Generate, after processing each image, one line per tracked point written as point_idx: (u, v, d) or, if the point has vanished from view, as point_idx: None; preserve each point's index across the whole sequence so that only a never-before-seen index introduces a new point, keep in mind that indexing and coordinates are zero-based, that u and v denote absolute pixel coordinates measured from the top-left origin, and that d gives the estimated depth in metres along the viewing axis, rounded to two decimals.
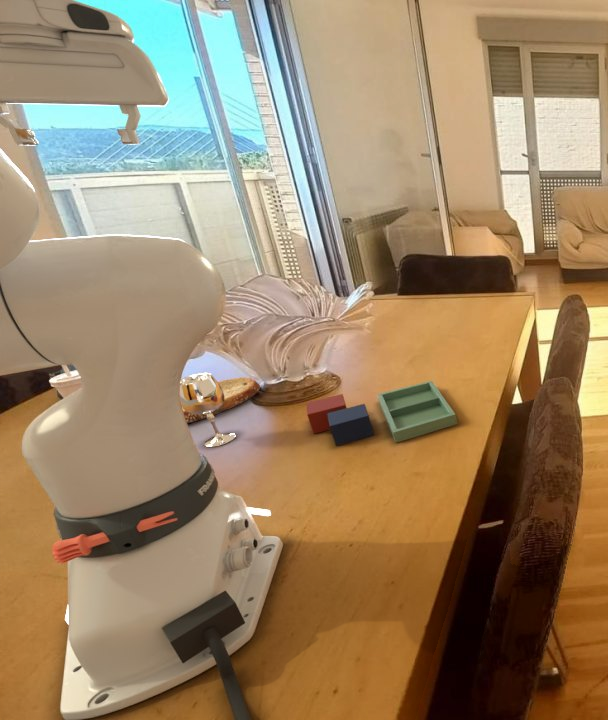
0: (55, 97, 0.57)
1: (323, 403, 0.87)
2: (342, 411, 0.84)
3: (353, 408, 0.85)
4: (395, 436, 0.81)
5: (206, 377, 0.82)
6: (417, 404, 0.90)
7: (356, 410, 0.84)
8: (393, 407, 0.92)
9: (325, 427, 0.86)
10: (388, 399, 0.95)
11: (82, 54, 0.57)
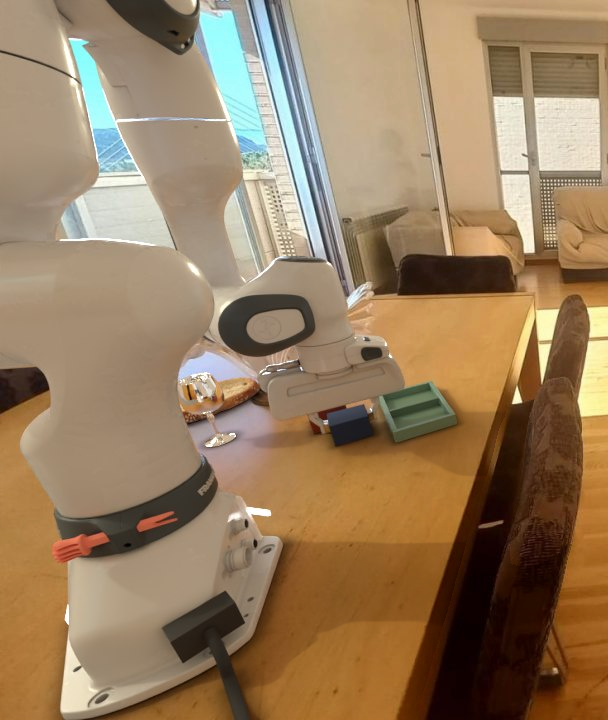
0: (343, 403, 0.81)
1: None
2: (341, 411, 0.84)
3: (353, 408, 0.85)
4: (395, 436, 0.81)
5: (206, 377, 0.82)
6: (417, 404, 0.90)
7: (356, 411, 0.84)
8: (393, 407, 0.92)
9: None
10: (388, 399, 0.95)
11: (361, 372, 0.81)
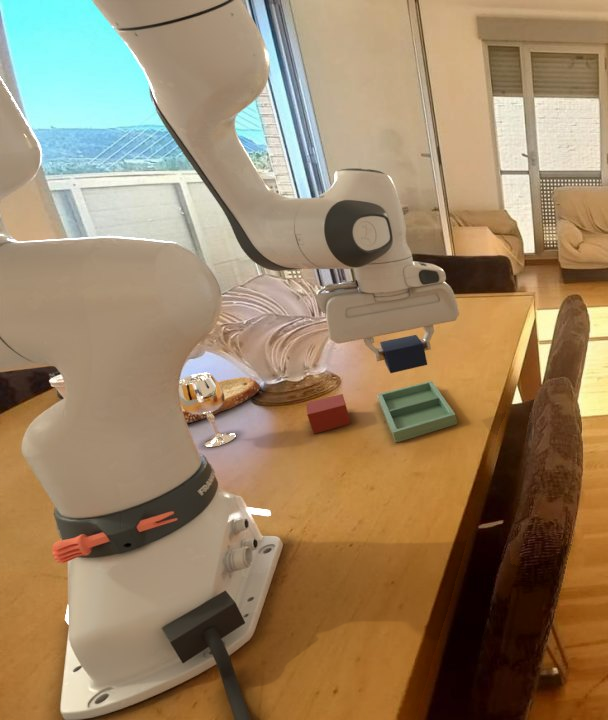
0: (399, 329, 0.79)
1: (323, 403, 0.87)
2: (394, 340, 0.82)
3: (405, 338, 0.83)
4: (395, 436, 0.81)
5: (206, 377, 0.82)
6: (417, 404, 0.90)
7: (409, 340, 0.82)
8: (393, 407, 0.92)
9: (325, 427, 0.86)
10: (388, 399, 0.95)
11: (417, 297, 0.79)
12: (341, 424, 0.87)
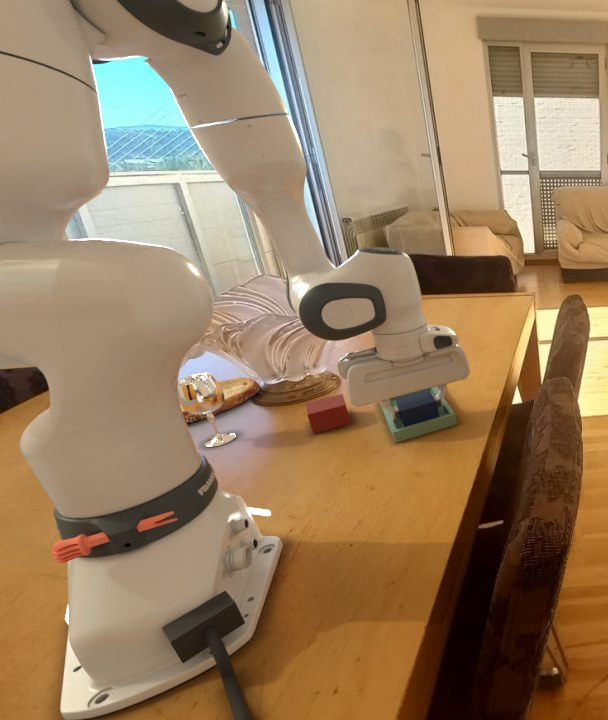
0: (414, 390, 0.84)
1: (323, 403, 0.87)
2: (409, 397, 0.87)
3: (419, 394, 0.88)
4: (395, 436, 0.81)
5: (206, 377, 0.82)
6: None
7: (423, 396, 0.87)
8: None
9: (325, 427, 0.86)
10: None
11: (431, 360, 0.84)
12: (341, 424, 0.87)
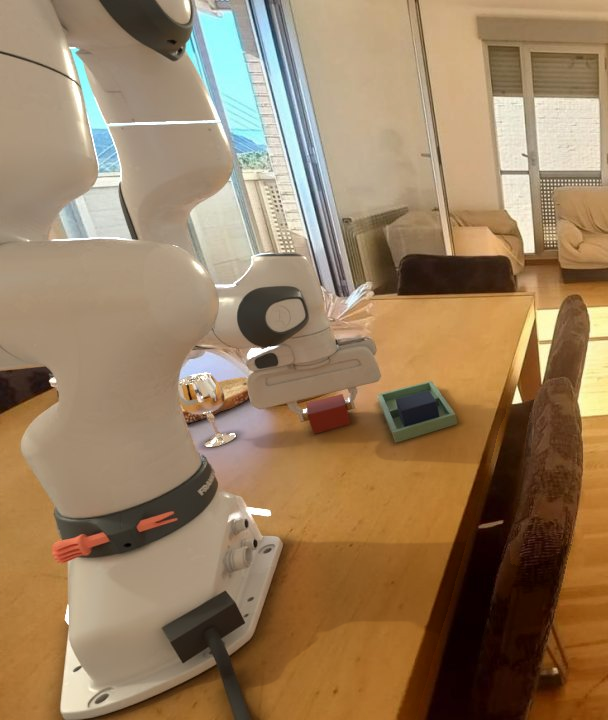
0: None
1: (324, 403, 0.87)
2: (409, 397, 0.87)
3: (419, 394, 0.88)
4: (395, 436, 0.81)
5: (206, 377, 0.82)
6: None
7: (423, 396, 0.87)
8: (393, 407, 0.92)
9: (325, 427, 0.86)
10: (388, 399, 0.95)
11: None
12: (341, 424, 0.87)
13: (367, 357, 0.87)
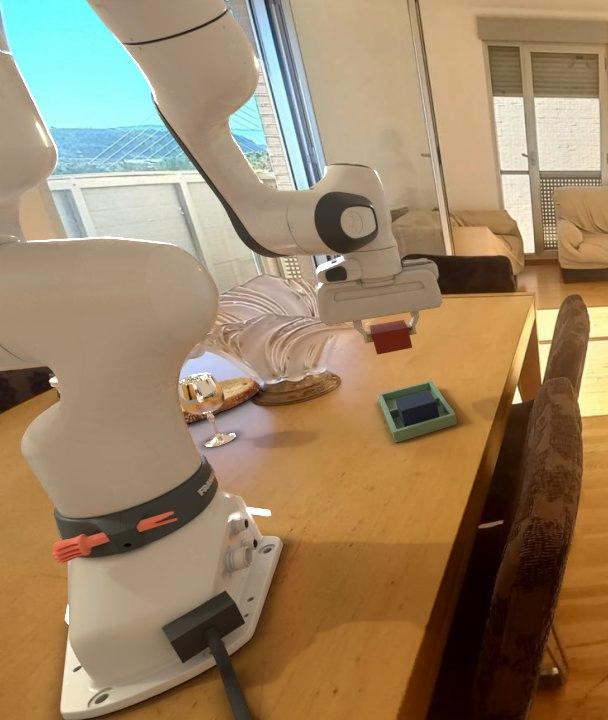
0: None
1: (387, 326, 0.87)
2: (409, 397, 0.87)
3: (419, 394, 0.88)
4: (395, 436, 0.81)
5: (206, 377, 0.82)
6: None
7: (423, 396, 0.87)
8: (393, 407, 0.92)
9: (388, 348, 0.86)
10: (388, 399, 0.95)
11: None
12: (403, 347, 0.87)
13: (430, 280, 0.86)
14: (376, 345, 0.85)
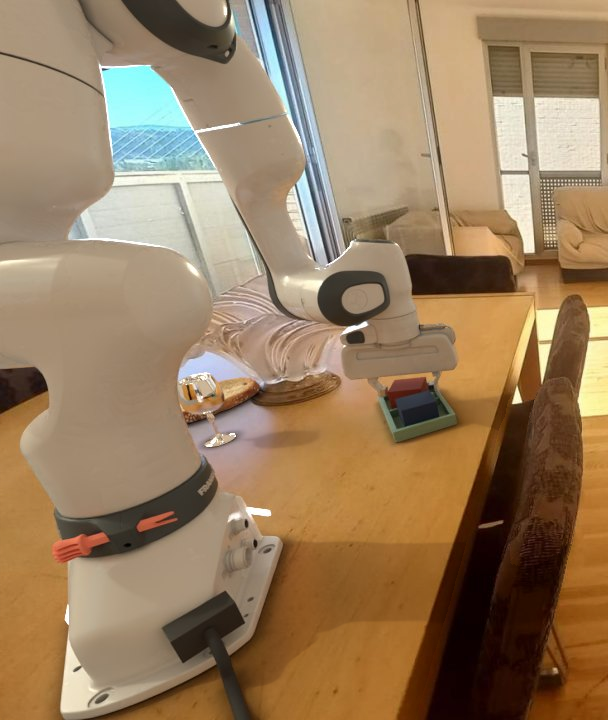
0: None
1: (406, 383, 0.92)
2: (409, 397, 0.87)
3: (419, 394, 0.88)
4: (395, 436, 0.81)
5: (206, 377, 0.82)
6: None
7: (423, 396, 0.87)
8: None
9: None
10: (388, 399, 0.95)
11: None
12: None
13: (444, 345, 0.89)
14: (391, 402, 0.90)
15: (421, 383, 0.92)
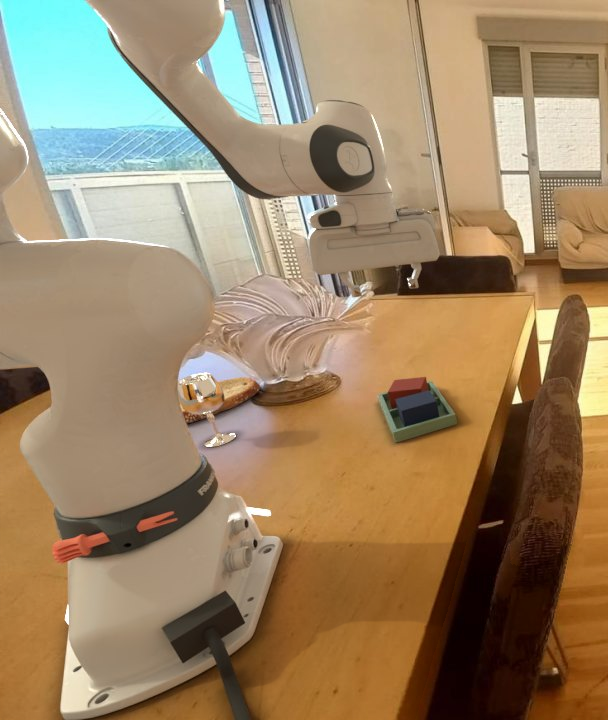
0: None
1: (406, 383, 0.92)
2: (409, 397, 0.87)
3: (419, 394, 0.88)
4: (395, 436, 0.81)
5: (206, 377, 0.82)
6: None
7: (423, 396, 0.87)
8: None
9: None
10: (388, 399, 0.95)
11: None
12: None
13: (427, 230, 0.84)
14: (391, 402, 0.90)
15: (421, 383, 0.92)
